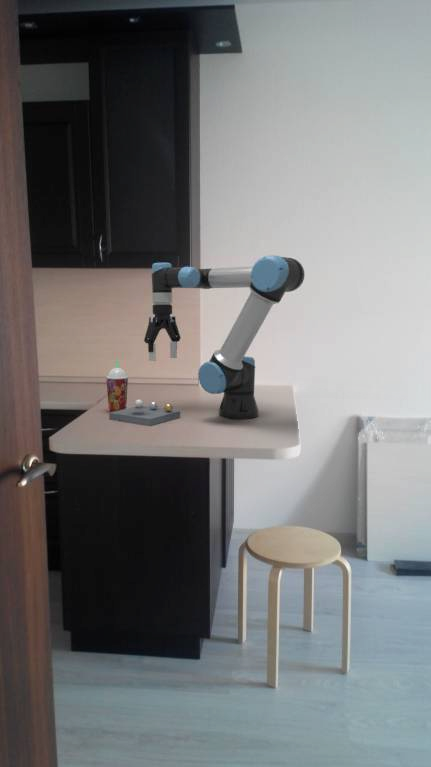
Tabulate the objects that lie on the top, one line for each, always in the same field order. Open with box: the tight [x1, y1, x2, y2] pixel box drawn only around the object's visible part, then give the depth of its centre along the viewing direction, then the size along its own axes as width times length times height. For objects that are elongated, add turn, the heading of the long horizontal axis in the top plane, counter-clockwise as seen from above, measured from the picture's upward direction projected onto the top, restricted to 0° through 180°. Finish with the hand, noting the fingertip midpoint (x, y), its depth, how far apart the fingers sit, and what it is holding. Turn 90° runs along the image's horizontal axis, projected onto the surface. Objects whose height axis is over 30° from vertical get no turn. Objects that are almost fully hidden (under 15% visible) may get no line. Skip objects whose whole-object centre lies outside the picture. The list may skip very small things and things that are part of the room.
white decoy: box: [134, 399, 144, 408], centre depth 225 cm, size 3×3×3 cm
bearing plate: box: [108, 405, 181, 427], centre depth 218 cm, size 19×18×2 cm
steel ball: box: [148, 400, 159, 410], centre depth 222 cm, size 3×3×3 cm
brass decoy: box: [163, 403, 174, 412], centre depth 218 cm, size 3×3×3 cm
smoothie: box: [105, 360, 129, 413], centre depth 229 cm, size 8×8×20 cm
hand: (163, 359), depth 228 cm, fingers open, 13 cm apart
